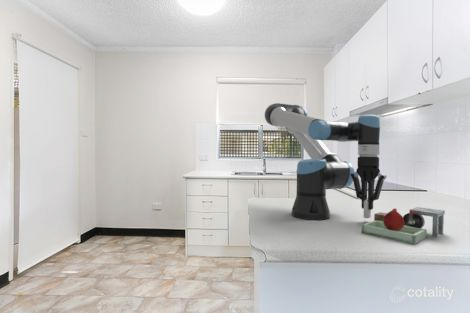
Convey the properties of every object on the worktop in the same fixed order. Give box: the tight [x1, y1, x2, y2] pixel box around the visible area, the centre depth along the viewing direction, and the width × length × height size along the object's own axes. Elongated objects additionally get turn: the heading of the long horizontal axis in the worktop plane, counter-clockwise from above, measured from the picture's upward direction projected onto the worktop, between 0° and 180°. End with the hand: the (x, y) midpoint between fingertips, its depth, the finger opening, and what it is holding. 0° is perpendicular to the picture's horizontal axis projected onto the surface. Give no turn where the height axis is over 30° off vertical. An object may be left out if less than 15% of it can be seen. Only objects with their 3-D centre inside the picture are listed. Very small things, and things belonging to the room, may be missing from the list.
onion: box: [384, 208, 404, 231], centre depth 94 cm, size 6×6×8 cm
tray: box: [361, 220, 428, 245], centre depth 94 cm, size 16×11×2 cm
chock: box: [373, 211, 388, 222], centre depth 108 cm, size 4×5×4 cm
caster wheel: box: [402, 206, 446, 238], centre depth 99 cm, size 11×8×8 cm
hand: (367, 217), depth 113 cm, fingers closed
